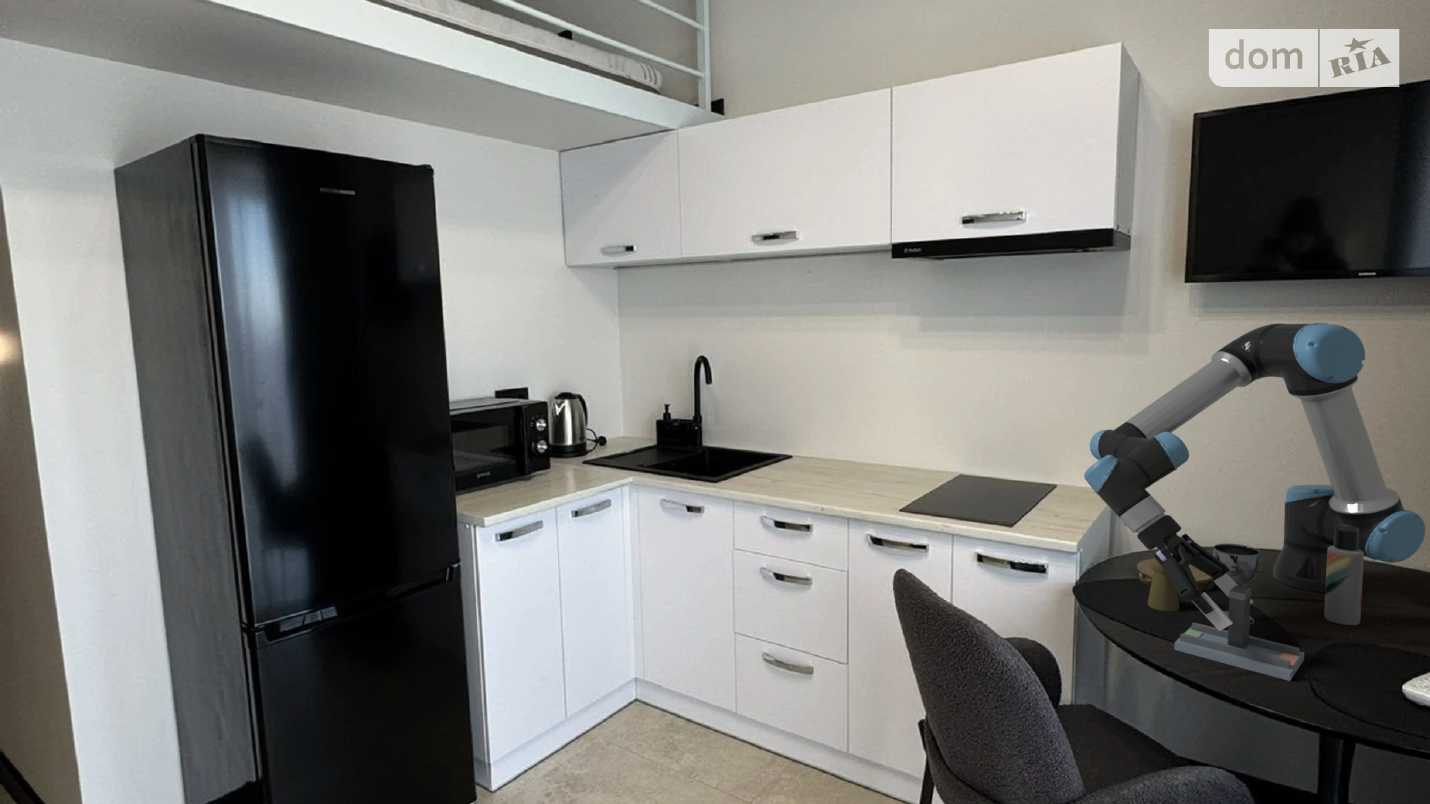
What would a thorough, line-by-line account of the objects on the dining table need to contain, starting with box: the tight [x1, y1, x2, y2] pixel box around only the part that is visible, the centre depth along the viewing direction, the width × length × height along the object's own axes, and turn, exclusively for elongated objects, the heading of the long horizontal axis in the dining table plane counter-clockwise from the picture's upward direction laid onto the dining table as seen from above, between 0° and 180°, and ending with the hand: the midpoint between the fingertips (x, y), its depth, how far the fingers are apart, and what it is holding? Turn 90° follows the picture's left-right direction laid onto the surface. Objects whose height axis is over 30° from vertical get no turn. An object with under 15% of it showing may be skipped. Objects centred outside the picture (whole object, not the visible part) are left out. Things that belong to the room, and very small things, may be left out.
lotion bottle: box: [1323, 524, 1365, 626], centre depth 152 cm, size 6×6×20 cm
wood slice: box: [1136, 558, 1215, 592], centre depth 179 cm, size 16×16×3 cm
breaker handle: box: [1227, 585, 1252, 649], centre depth 139 cm, size 2×4×11 cm, turn 131°
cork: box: [1147, 557, 1180, 612], centre depth 163 cm, size 6×6×11 cm
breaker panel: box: [1174, 622, 1305, 682], centre depth 140 cm, size 18×11×3 cm, turn 42°
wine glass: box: [1212, 543, 1261, 626], centre depth 155 cm, size 8×8×15 cm
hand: (1237, 616), depth 139 cm, fingers open, 13 cm apart
